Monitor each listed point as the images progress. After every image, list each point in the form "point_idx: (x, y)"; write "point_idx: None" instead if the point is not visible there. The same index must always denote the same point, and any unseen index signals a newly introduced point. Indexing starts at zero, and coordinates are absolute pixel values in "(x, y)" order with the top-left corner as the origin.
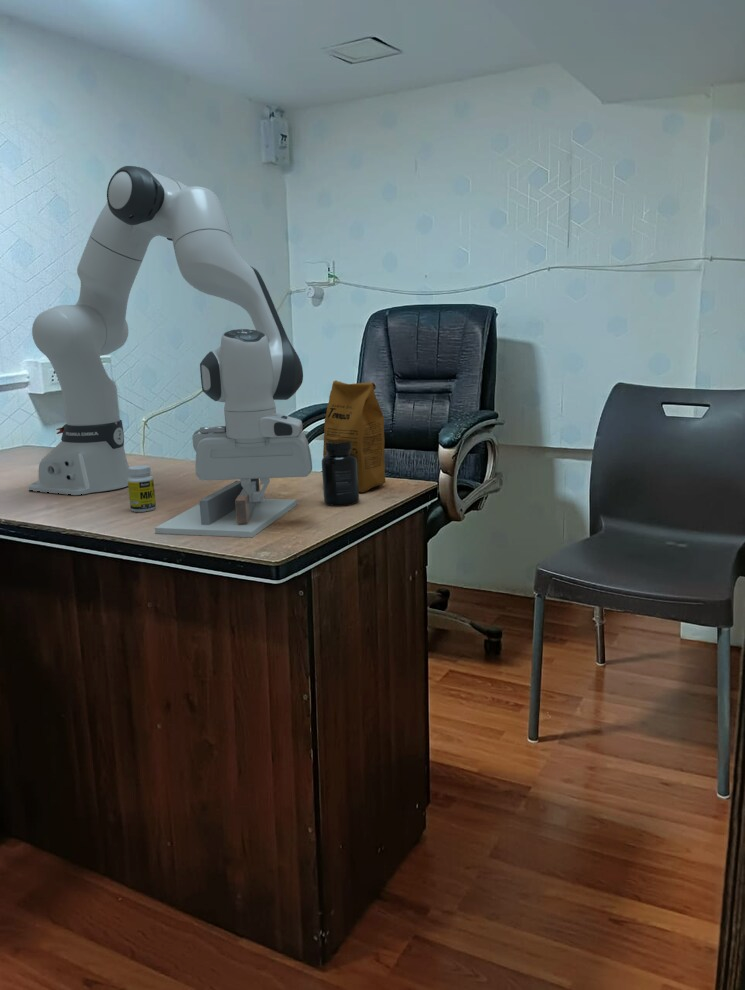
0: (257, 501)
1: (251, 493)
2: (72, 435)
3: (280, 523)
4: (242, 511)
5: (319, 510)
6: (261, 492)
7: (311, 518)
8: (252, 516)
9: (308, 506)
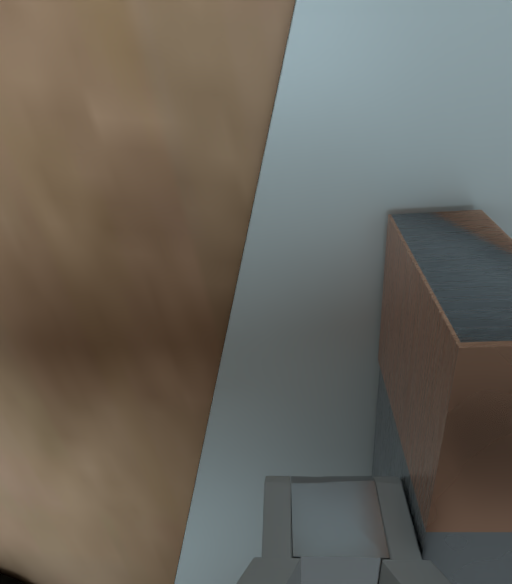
0: (320, 483)
1: (387, 564)
2: None
3: (164, 342)
4: (458, 261)
5: (27, 524)
6: (275, 570)
7: (6, 415)
8: (361, 412)
9: (109, 575)
